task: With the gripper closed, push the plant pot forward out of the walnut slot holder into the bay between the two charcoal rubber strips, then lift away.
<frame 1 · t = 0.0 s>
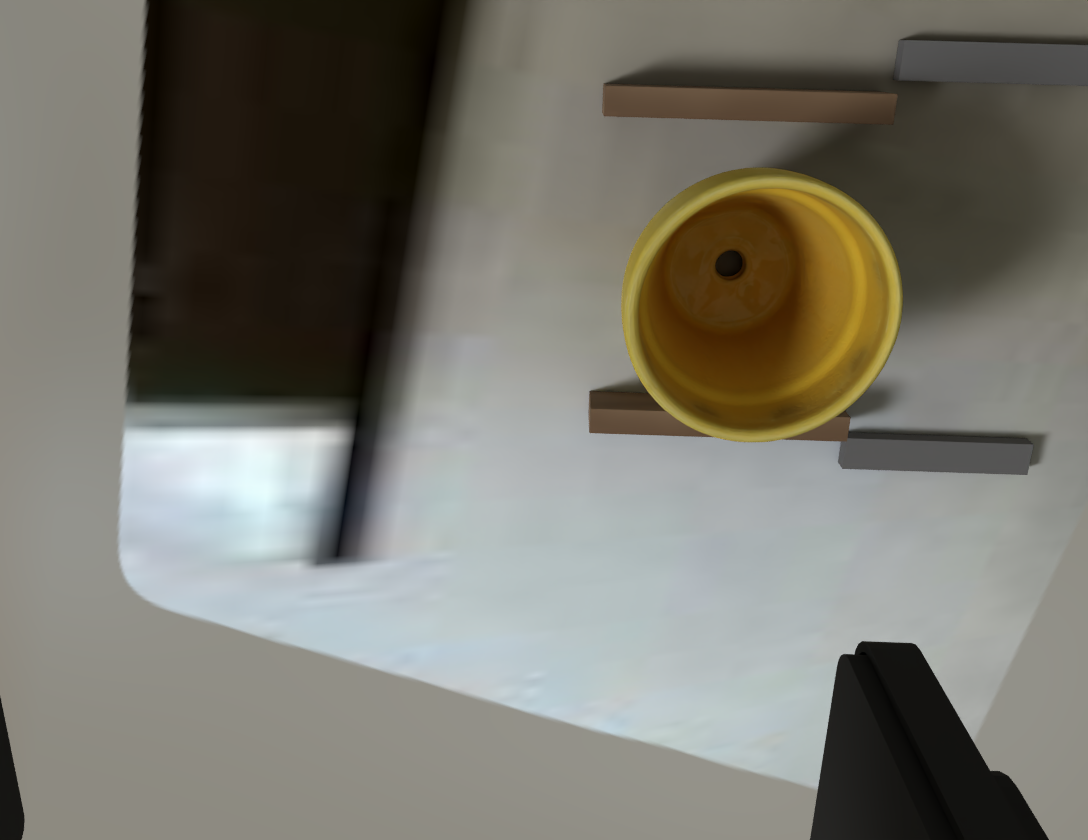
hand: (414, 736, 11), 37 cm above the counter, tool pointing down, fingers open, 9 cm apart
plant pot: (724, 261, 46), on the counter
walnut slot holder: (725, 262, 46), on the counter
rubber strips: (964, 270, 46), on the counter
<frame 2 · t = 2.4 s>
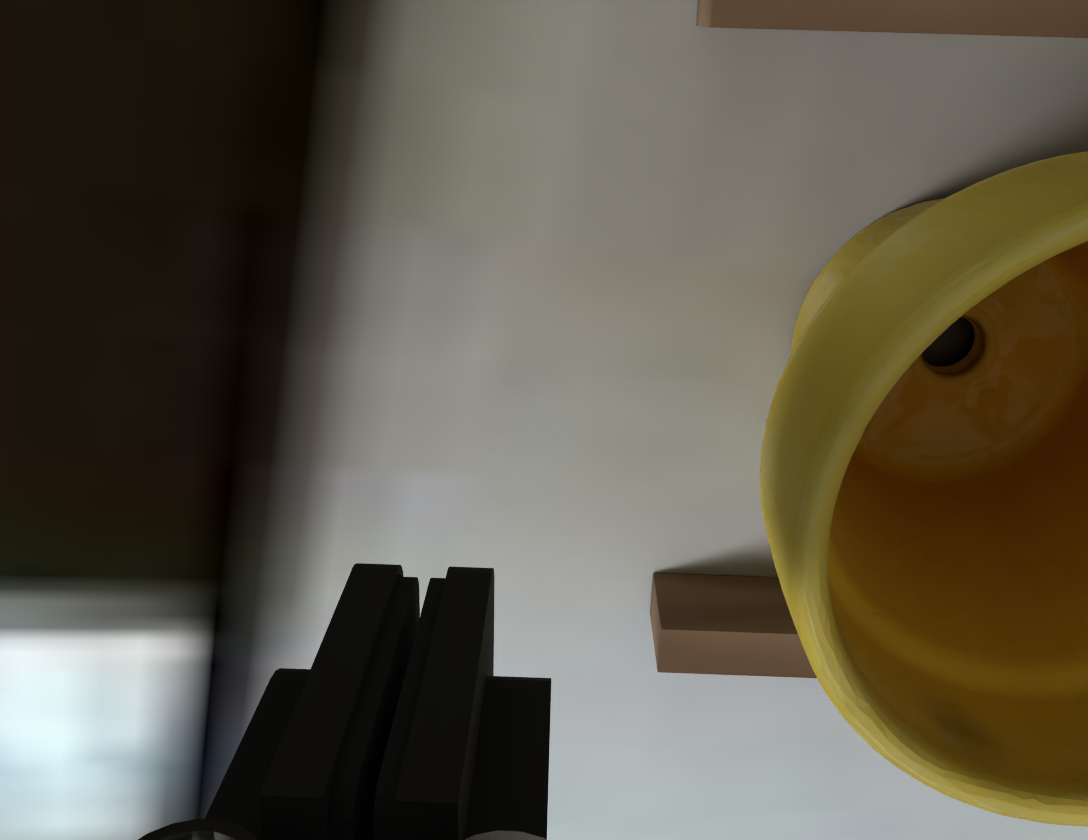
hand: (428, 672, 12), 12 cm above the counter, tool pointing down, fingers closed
plant pot: (930, 334, 23), on the counter
walnut slot holder: (934, 337, 23), on the counter
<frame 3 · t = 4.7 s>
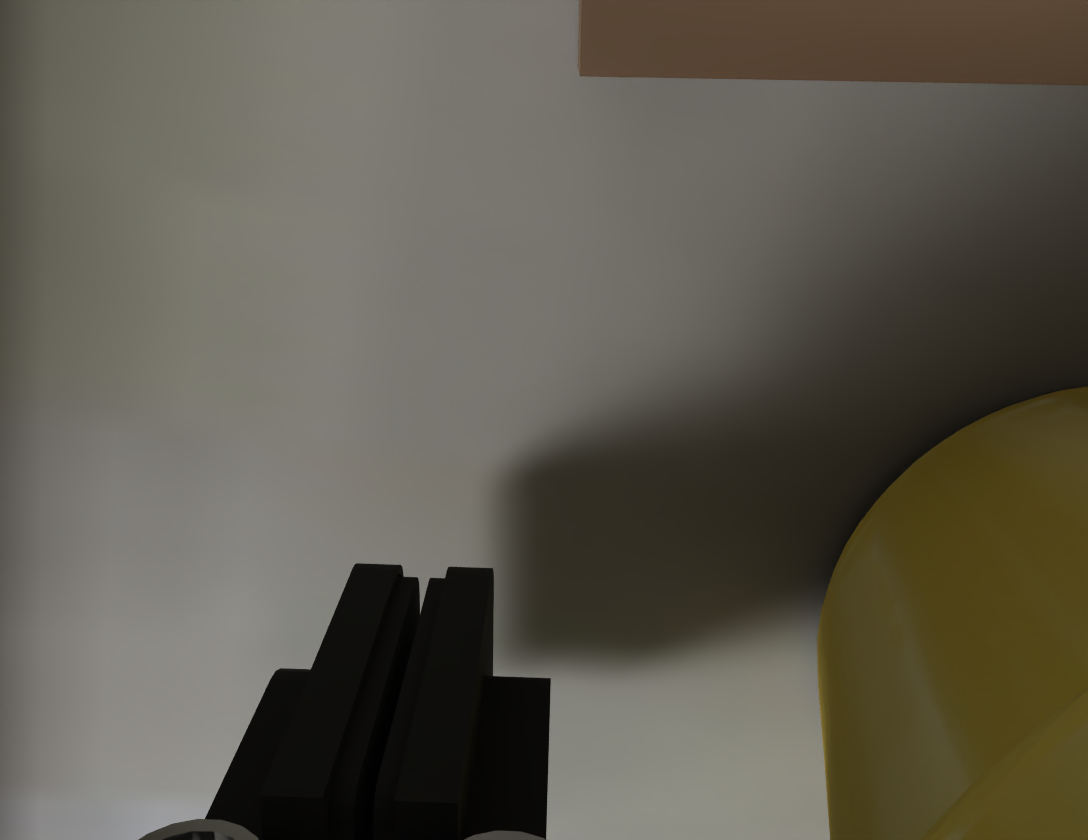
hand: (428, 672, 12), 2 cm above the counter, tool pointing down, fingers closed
plant pot: (1053, 601, 13), on the counter, touching gripper
walnut slot holder: (1015, 594, 13), on the counter
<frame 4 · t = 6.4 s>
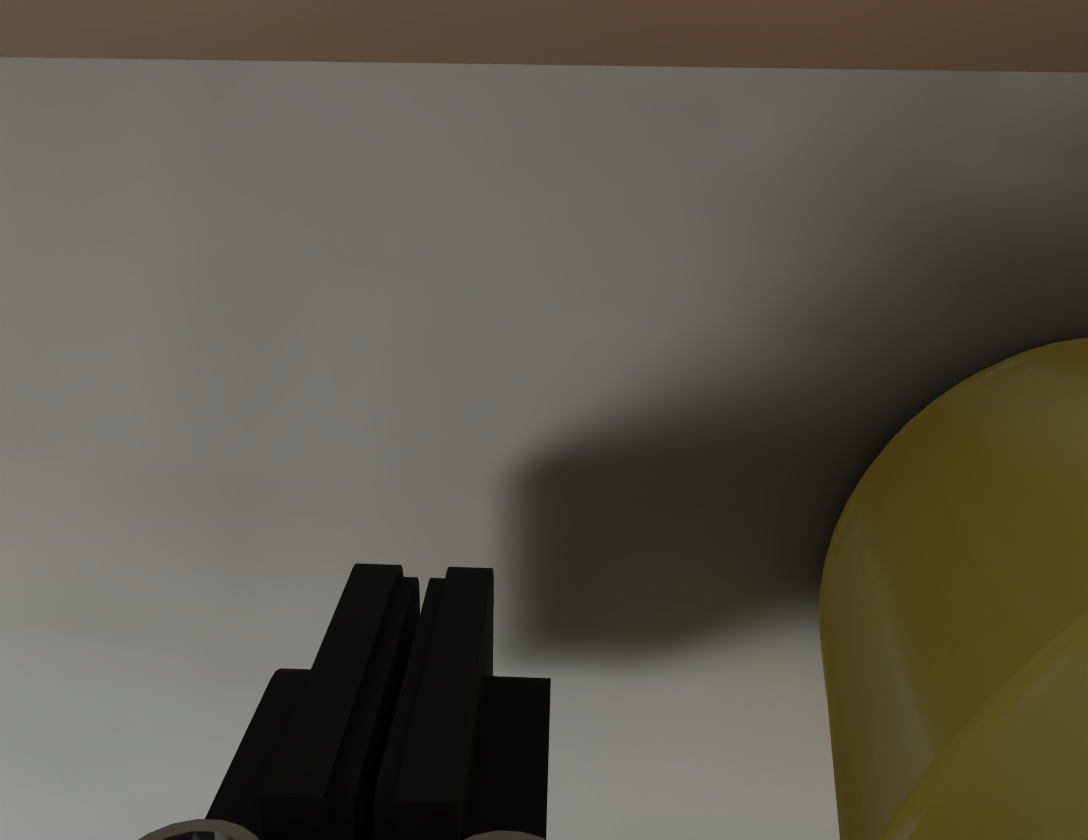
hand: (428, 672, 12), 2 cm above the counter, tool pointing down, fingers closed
plant pot: (1056, 559, 13), on the counter, touching gripper
walnut slot holder: (471, 571, 13), on the counter
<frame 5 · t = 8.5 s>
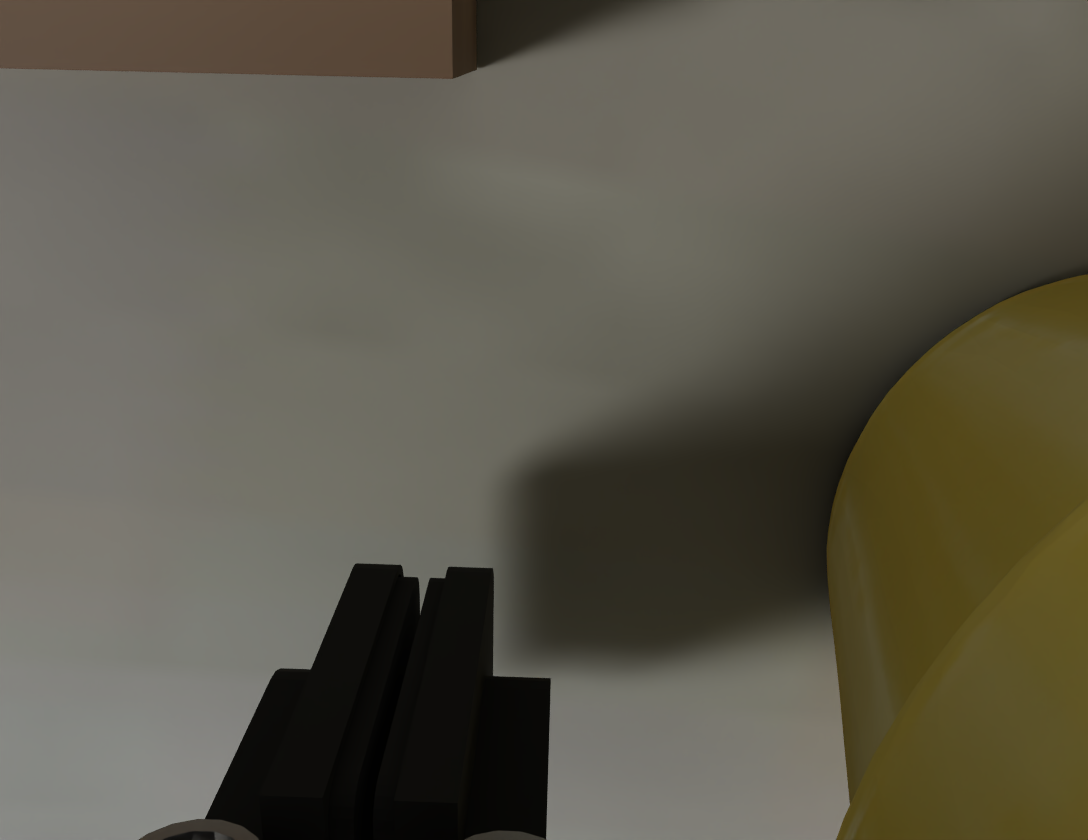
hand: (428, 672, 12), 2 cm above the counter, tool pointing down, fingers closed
plant pot: (1068, 508, 13), on the counter, touching gripper
walnut slot holder: (33, 570, 13), on the counter
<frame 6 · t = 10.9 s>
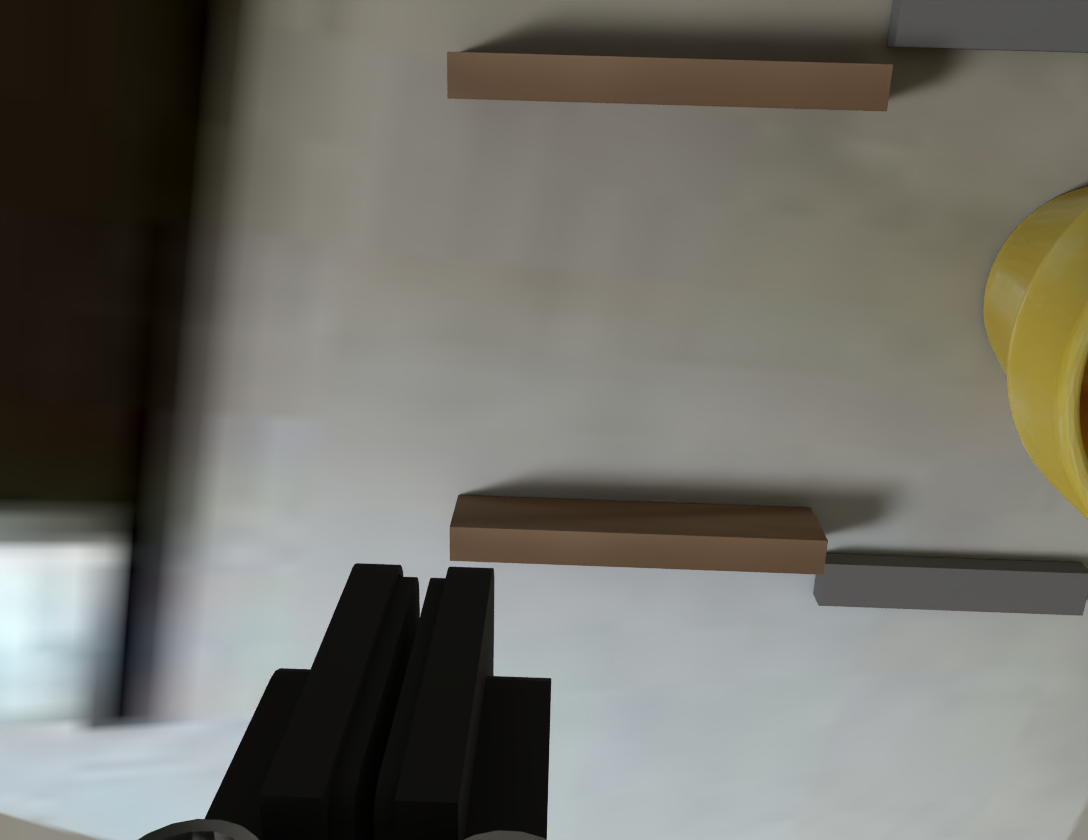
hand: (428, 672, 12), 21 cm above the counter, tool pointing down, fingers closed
plant pot: (1083, 287, 31), on the counter
walnut slot holder: (645, 315, 32), on the counter
rubber strips: (992, 326, 31), on the counter
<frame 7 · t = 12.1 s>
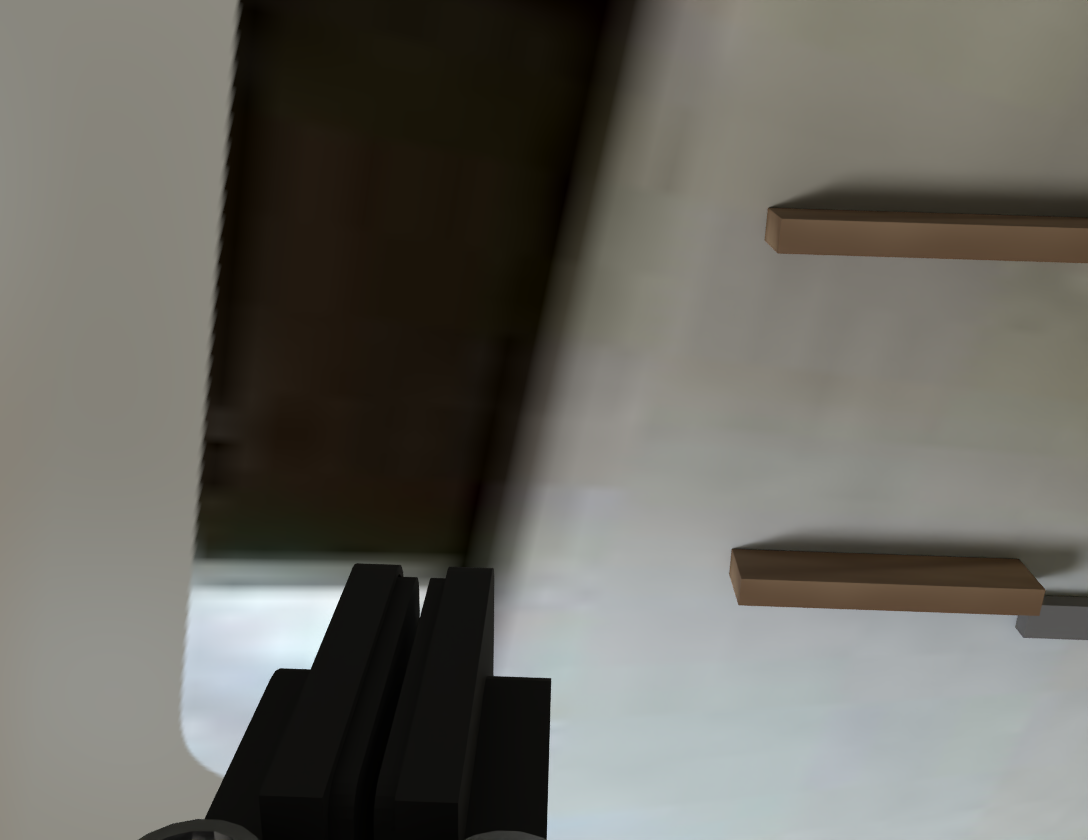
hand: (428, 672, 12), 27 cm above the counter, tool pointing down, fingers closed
walnut slot holder: (898, 408, 39), on the counter
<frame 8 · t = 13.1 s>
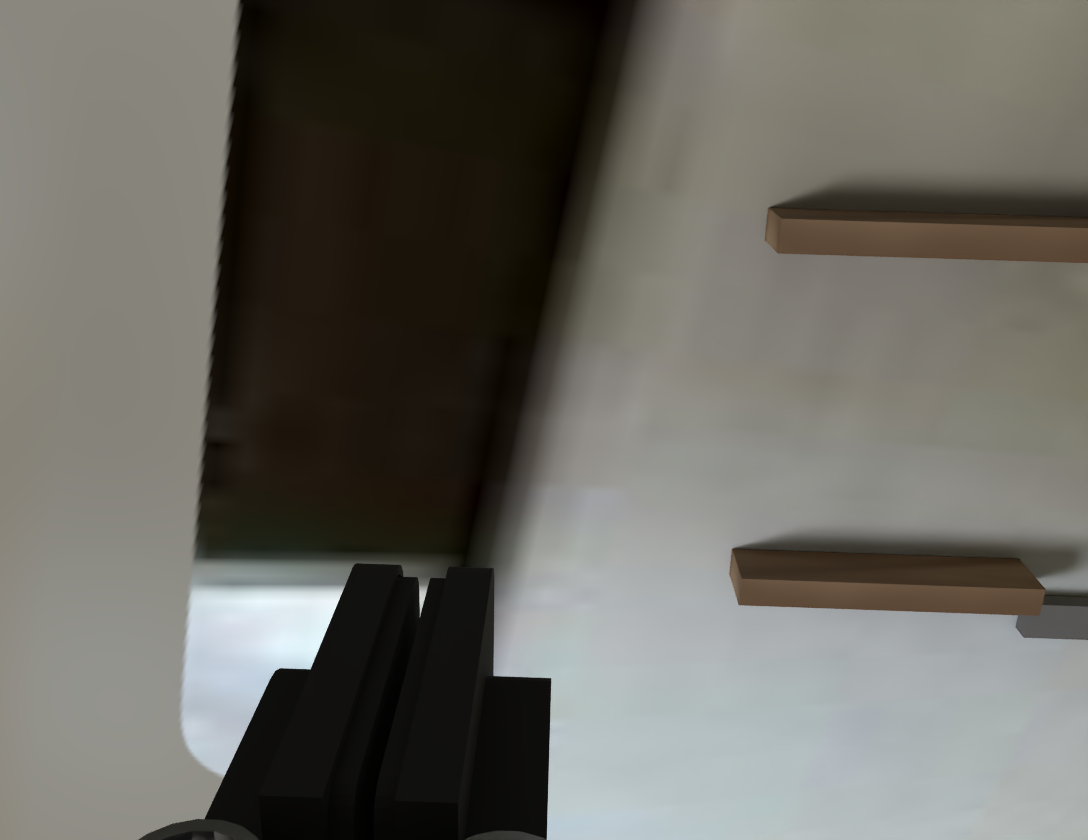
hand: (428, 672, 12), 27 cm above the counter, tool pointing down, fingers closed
walnut slot holder: (899, 408, 39), on the counter
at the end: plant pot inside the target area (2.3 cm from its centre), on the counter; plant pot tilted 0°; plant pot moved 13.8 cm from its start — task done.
